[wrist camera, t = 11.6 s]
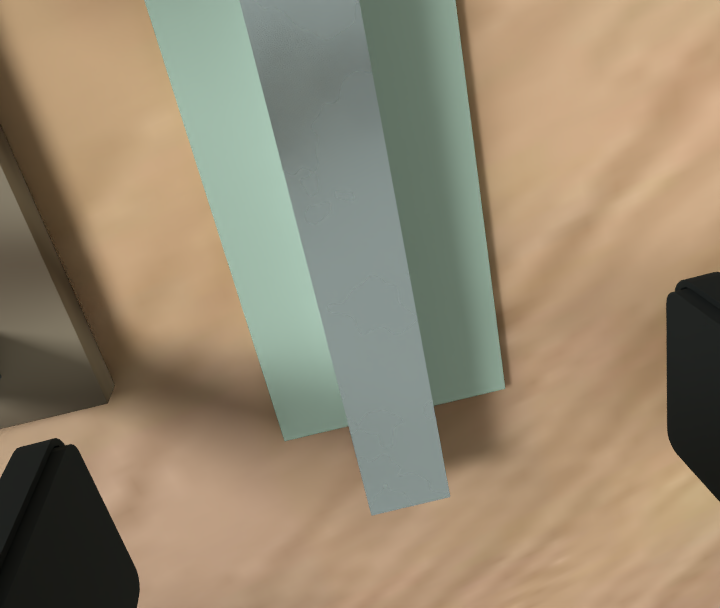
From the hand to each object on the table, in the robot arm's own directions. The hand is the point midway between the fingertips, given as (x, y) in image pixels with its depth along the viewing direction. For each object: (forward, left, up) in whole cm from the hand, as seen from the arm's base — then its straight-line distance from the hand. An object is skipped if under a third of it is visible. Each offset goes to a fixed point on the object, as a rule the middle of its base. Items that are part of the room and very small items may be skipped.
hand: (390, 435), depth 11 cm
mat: (0, -1, -14) cm, 14 cm away
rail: (0, 0, -14) cm, 14 cm away
